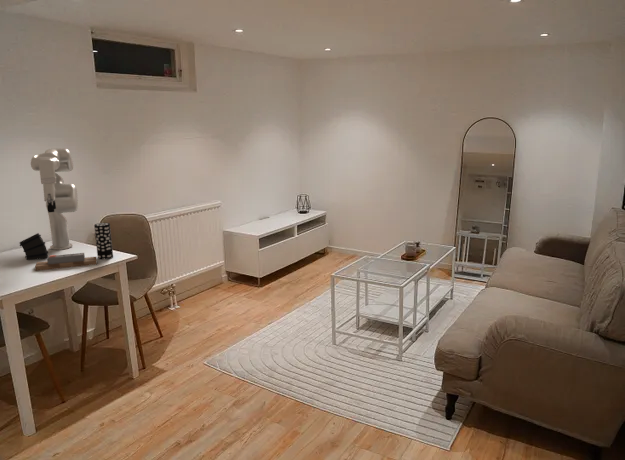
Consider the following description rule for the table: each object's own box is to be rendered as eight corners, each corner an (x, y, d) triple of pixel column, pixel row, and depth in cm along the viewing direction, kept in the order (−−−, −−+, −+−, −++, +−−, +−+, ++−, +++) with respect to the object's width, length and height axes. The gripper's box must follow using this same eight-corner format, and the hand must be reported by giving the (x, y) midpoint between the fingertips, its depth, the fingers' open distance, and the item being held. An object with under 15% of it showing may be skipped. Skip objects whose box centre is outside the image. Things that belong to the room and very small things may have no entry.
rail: (37, 266, 265) (36, 262, 264) (96, 260, 276) (96, 256, 276) (35, 270, 258) (34, 266, 257) (96, 264, 269) (96, 260, 268)
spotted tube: (96, 259, 278) (92, 226, 273) (99, 255, 286) (96, 223, 281) (111, 259, 279) (108, 225, 275) (114, 255, 287) (111, 222, 283)
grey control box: (49, 266, 265) (47, 255, 264) (85, 262, 272) (84, 251, 270) (48, 268, 261) (47, 257, 260) (84, 265, 268) (83, 253, 266)
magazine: (52, 256, 279) (37, 234, 274) (31, 266, 278) (15, 244, 273) (54, 254, 283) (39, 232, 278) (33, 264, 281) (17, 243, 276)
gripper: (42, 179, 277) (46, 208, 281) (39, 183, 261) (42, 213, 265) (57, 178, 279) (60, 207, 283) (54, 182, 264) (58, 212, 268)
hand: (52, 210), depth 274 cm, fingers open, 9 cm apart
